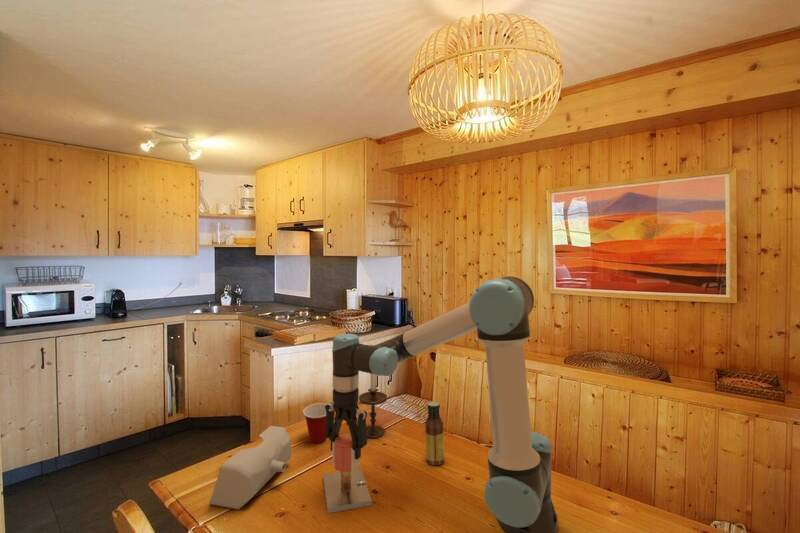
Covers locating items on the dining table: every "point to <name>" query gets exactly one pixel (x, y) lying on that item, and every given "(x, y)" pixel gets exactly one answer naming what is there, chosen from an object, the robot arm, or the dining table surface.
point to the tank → (251, 469)
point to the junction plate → (346, 491)
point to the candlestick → (373, 409)
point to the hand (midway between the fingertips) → (345, 465)
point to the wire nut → (343, 452)
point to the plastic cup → (316, 422)
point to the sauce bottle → (434, 435)
